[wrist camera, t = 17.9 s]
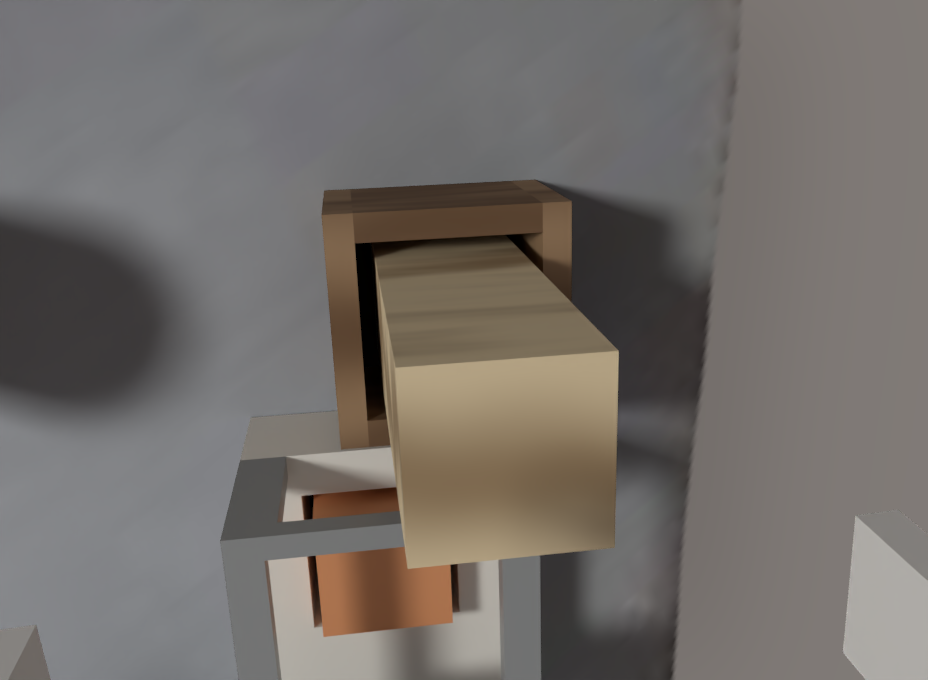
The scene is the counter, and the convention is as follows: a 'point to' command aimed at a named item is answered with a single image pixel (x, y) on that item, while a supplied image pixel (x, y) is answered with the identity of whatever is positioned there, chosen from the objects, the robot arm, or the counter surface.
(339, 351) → the holder
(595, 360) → the tan wooden block
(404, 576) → the orange cube
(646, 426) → the counter surface
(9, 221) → the counter surface
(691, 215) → the counter surface
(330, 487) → the grey frame
